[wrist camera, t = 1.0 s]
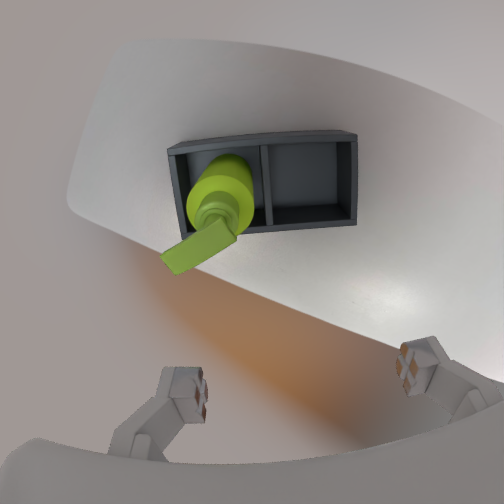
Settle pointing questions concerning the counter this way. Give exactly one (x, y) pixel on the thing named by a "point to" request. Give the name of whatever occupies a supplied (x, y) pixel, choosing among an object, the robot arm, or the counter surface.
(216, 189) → the soap dispenser
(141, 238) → the counter surface
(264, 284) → the counter surface
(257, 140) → the storage box
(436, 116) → the counter surface
